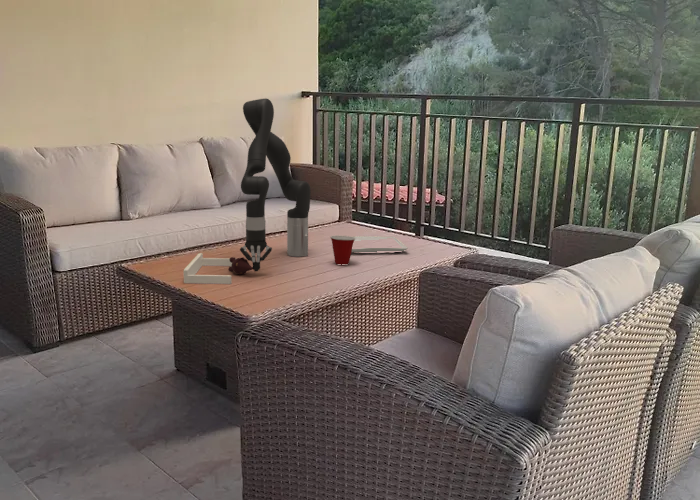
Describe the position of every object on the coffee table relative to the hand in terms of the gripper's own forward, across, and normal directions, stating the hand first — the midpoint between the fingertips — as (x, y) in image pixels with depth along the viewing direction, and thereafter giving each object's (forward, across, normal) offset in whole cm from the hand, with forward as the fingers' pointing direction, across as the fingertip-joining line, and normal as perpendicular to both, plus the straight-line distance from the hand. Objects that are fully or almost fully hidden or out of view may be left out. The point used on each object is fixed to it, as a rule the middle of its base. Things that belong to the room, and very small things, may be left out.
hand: (256, 270), depth 250 cm
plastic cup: (+2, -34, -20) cm, 40 cm away
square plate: (+2, -50, -50) cm, 70 cm away
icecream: (+2, +6, -1) cm, 6 cm away
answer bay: (+2, +16, 0) cm, 16 cm away
